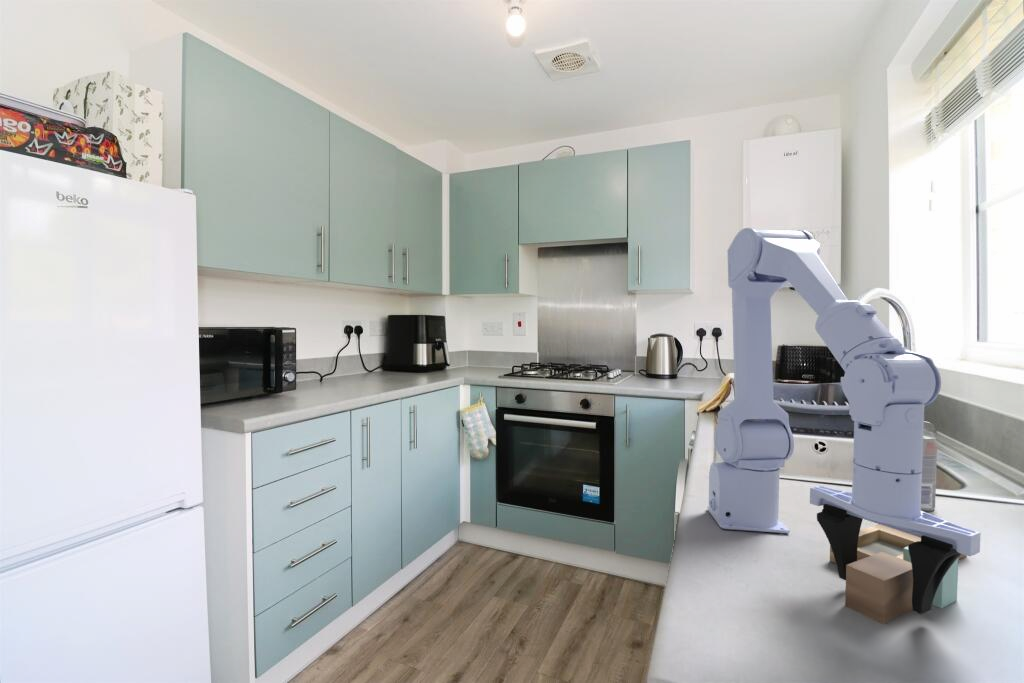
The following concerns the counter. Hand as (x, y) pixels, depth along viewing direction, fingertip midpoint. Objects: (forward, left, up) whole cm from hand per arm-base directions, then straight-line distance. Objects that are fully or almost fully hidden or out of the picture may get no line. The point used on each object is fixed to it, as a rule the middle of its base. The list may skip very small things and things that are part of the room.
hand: (882, 592), depth 50 cm
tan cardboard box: (0, 0, -2) cm, 2 cm away
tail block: (+6, +3, -2) cm, 7 cm away
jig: (+9, +12, -1) cm, 15 cm away
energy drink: (+24, +33, -2) cm, 41 cm away
